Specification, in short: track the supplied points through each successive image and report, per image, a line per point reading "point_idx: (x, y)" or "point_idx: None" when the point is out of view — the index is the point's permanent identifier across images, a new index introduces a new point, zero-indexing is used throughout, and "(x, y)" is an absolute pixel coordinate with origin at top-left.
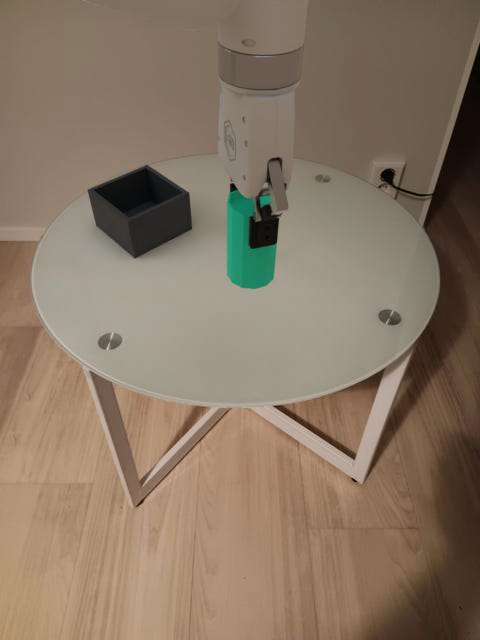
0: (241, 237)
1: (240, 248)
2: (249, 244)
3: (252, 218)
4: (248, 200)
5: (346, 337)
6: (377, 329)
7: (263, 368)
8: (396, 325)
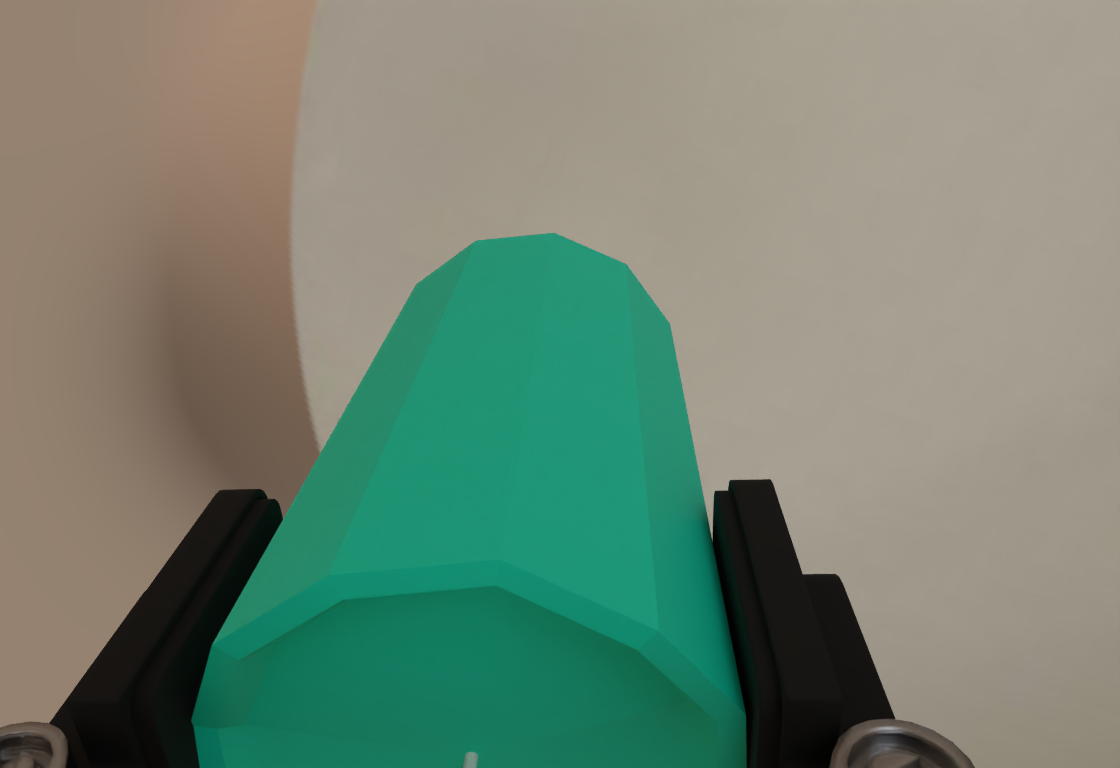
0: (319, 470)
1: (357, 408)
2: (225, 501)
3: (82, 715)
4: (554, 735)
5: None
6: None
7: (438, 231)
8: None
